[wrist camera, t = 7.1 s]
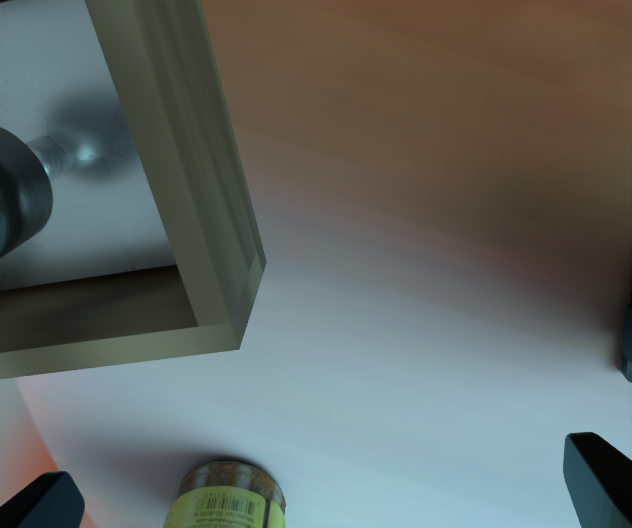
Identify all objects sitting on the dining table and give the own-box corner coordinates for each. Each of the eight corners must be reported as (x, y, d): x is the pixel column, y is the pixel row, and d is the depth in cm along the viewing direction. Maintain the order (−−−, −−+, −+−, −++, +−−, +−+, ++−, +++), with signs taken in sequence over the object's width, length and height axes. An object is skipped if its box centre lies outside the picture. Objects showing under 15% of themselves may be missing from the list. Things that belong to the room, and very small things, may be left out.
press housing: (178, -81, 14) (84, -147, 9) (266, 262, 20) (239, 349, 14) (-156, -1, 16) (-409, -16, 10) (8, 299, 21) (-105, 392, 16)
